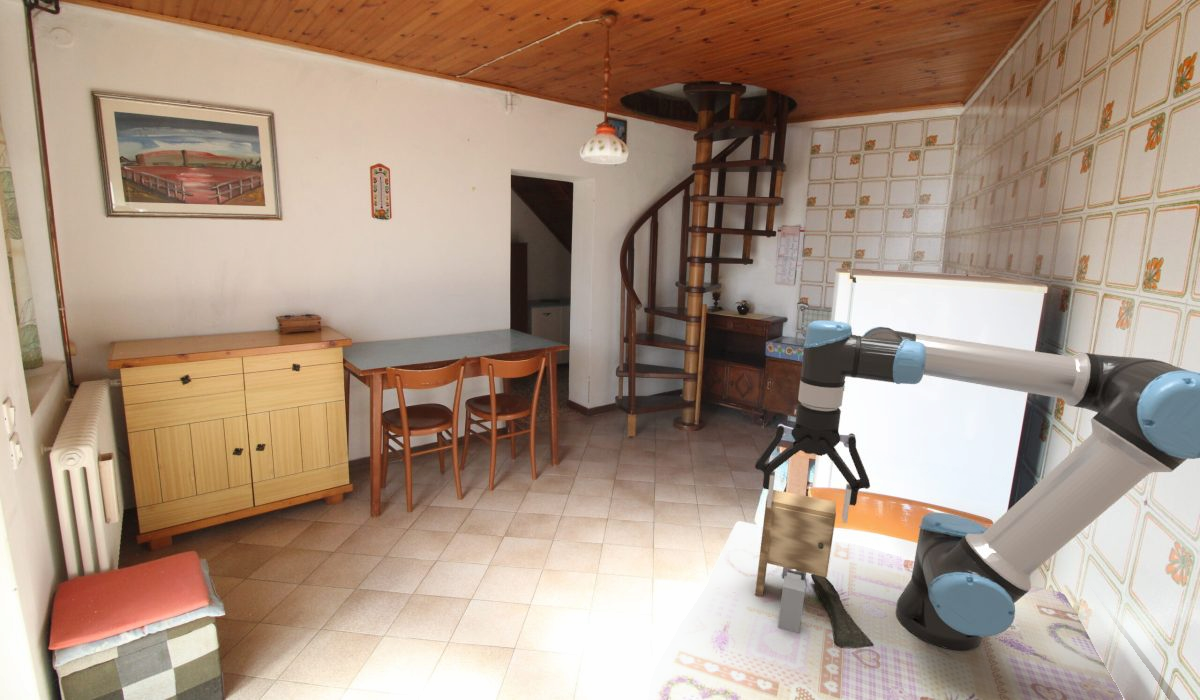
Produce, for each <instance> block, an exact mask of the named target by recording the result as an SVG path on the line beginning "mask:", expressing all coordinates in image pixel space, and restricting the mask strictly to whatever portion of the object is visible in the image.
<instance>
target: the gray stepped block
mask: <svg viewBox="0 0 1200 700" xmlns="http://www.w3.org/2000/svg"><path fill="white" fill-rule="evenodd" d="M805 592H806V580H805V581H803V580H801V575H797V574H793V573H789V572H787V576H784V579H783V583H782V593H781V599H780V607H779V616H778V623H777V628H778V629H782V630H785V631H788V632H791V633H796V634H800V628H801V623H802V622H801V621H802V615H803V614H802V613H803V607H804V606H803V605H804V599H805Z"/></svg>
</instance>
